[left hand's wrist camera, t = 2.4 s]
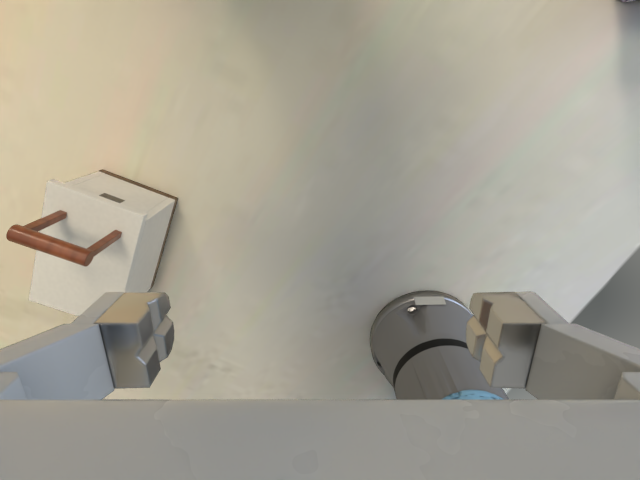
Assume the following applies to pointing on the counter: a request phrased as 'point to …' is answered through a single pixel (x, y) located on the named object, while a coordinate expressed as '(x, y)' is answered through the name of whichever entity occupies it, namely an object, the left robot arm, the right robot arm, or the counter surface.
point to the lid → (80, 247)
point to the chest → (155, 226)
